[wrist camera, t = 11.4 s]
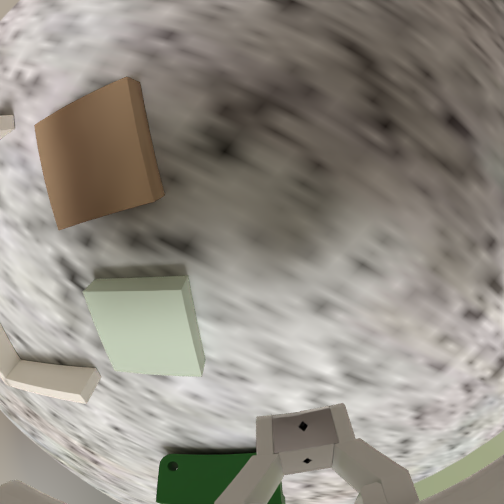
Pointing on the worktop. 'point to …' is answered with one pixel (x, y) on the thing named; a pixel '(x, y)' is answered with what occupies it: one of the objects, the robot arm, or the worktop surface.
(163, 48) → the worktop surface
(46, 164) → the walnut tile
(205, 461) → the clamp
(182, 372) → the sage tile
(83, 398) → the white u-shaped frame
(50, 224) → the worktop surface
